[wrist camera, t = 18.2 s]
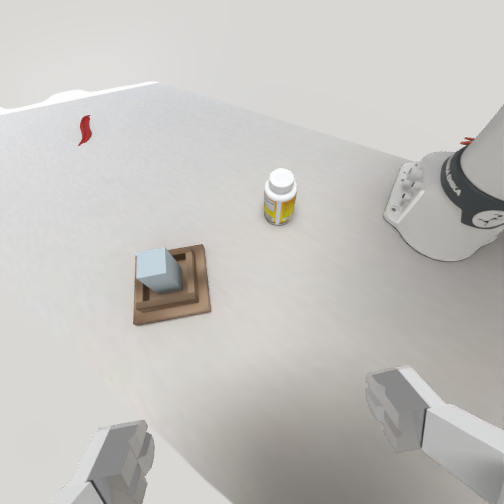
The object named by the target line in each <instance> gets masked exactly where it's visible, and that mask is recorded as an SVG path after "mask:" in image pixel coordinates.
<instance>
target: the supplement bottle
mask: <svg viewBox="0 0 504 504" xmlns="http://www.w3.org/2000/svg"><path fill="white" fill-rule="evenodd" d="M296 194H297V184H296V182H295V181H294V175H293V173H292V172H291V171H289V170H287V169H283V168H280V169H276V170H274V171H273V172H272V173H271V174H270V177H269V179H268V180H267V181H266V183H265V186H264V215H265V217H266V219H267V220H268V221H269V222H270V223H272V224H275V225H282V224H285V223H287V222H288V221H289V220H290V219H291V218H292V215H293V210H294V204H295V199H296Z"/></svg>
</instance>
